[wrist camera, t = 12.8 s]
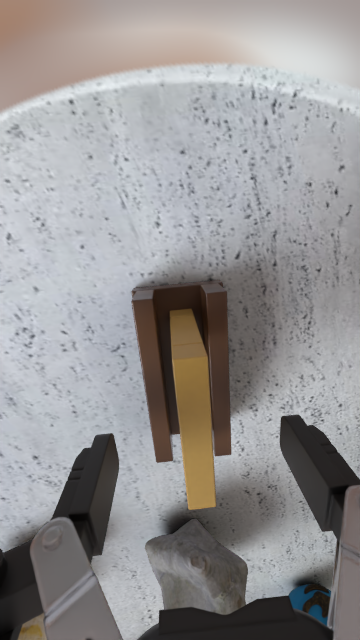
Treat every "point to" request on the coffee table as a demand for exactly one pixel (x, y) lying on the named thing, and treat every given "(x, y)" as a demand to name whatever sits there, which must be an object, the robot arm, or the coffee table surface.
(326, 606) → the ornament
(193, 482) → the frame
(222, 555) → the fossil
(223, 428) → the holder
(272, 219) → the coffee table surface
